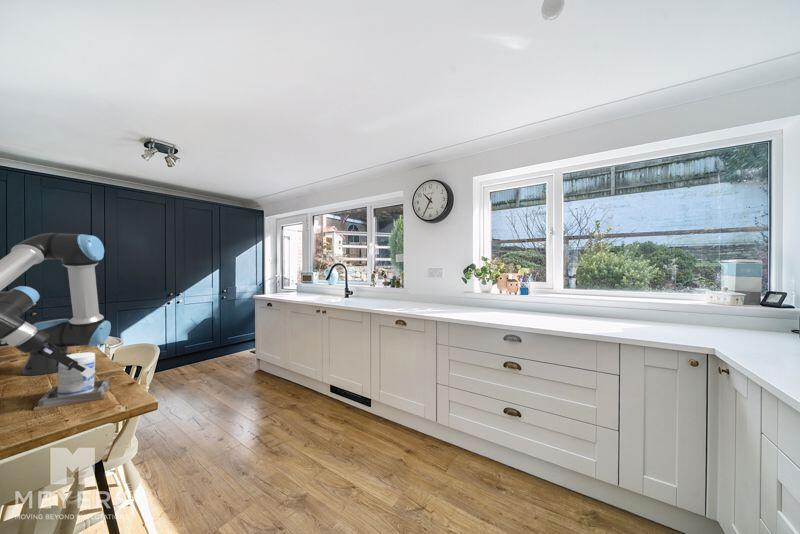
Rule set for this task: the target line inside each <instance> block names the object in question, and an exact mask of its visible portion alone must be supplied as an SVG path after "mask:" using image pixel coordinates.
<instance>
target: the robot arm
mask: <svg viewBox="0 0 800 534" xmlns="http://www.w3.org/2000/svg"><path fill="white" fill-rule="evenodd" d="M104 254H105V247H104V245H103V242H102V240H100V238H98V236H96V235H89V234H83V233H81V234H80V233H59V232H58V233H56V232H48V233H47V232H46V233H42V234H38V235H35V236H34V235H33V236H31V237H29V238H27V239H24V240H23V241H21V242H19V243H17V244H15V245H14V246H13V247H11V249H10V252H9V253H8V254H7V255H5V256H4V257H2V258H1V259H0V344H1V345H4V344H7V345H9V346H10V347H15V349H16V350H18V351H21V352H22V353H24V354H29V355H28V358H27V360H26V361H25V364H24V365H23V368H22V371H21V372H22V373H21V374H22V375H23V376H41V375H47V374H48V375H49V374H54V373H58V367H59V362H60V363H61V364H63V365H65V366H67V367H68V369H67V370H69V371H70V370H71V369H72V370H74V371H76V372H78V373H80V374H82V375H84V376H86V377H87V378H89V377H90V376H92V375H93V374H94V373H96V370H95V371H94V370H92V369H90V368H89V367H87V366H85V365H83V364H81V363H80V362H78V361H75V360H73V359H71V358H70V357H68V356H66V355H69V354H72V353H71V352H68V348H69V347H70V348H71V347H93V346H100V345H102V344H104V343H105V342H106V341H107V339H108V337H109V336H110V333H111V330H112V329H111V328H112V325H111V321H109V320H105V317H104V315H103V314H101V313H100V309H99V299H98V289H97V288H98V286H97V278H96V277H97V276H96V269H95V267H96V266H97V265H99V261H102V259H103V258H104V256H105V255H104ZM45 260H61V265H62V266H63V267H66V268H67V273H68V274H67V275H68V282H69V290H70V300H71V307H72V308H71V309H72V318H70V319H69V318H60V319H59V318H58V319H51V320H46V321H45V320H44V321H39V322H35V323H33V324H31V323H29V322H27V321H26V320H23V319H22V318H20V317H21V316H22V315H23V314H25V313H26V312H27V311H28V310H30V308H32V307H33V306H34V305H35V304H36V303H37V302H38V301H39V300H40V294H39V292H38V291H37V290H36V289H34V288H32V287H30V286H24V285H19V286H17V287H14V288H12V289H9V291H2V290H3V289H5V288H6V287H7V286H9V285H10V284H11V283H12V282H14V281H15V280H16V279H17V278H18V277H20V276H21V275H22V274H24V273H25V272H26V271H27V270H29V269H30V268H31V267H32V266H34V265H38V264H40V263H42V262H43V261H45ZM72 362H73V363H72ZM71 363H72V364H71ZM69 364H70V365H69Z"/></svg>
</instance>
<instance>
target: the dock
mask: <svg viewBox="0 0 800 534" xmlns="http://www.w3.org/2000/svg"><path fill="white" fill-rule="evenodd" d="M111 387H112V382H110V379H109V378H107V379H100V380H99V379H98V380H94V390H93V391H92V392H88V393H82V394H75V395H69V396H62V397H58V396H57V390H58V385H54V386H52V387H51V388H50V389H49V390H47V392H46V393H45V394H44V395H43V396H42V397H41V398H40V399H39V400H38V403H37V405H36V406H35V407H34V408H33V410H32V411H33V412H35V411H40V410H47V409H52V408H58V407H65V406H70V405H71V406H72V405H77V404H83V403H84V404H85V403H89V402H96V401H102V400H104V399H105V397H106V396H107V393H108V391H109V390H110V389H111Z"/></svg>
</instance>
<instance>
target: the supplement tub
mask: <svg viewBox="0 0 800 534" xmlns="http://www.w3.org/2000/svg"><path fill="white" fill-rule="evenodd" d="M68 354H69V353H68ZM66 356H68V357H70V358H71V359H73V360H75V361H78V362H80V363H81V364H83V365H85V366H87V367H89V368H90V369H92V370H94V371H96V370H95V369H96V352H86V351H85V352H78V353H71V354H69V355H66ZM72 363H73V362H72ZM72 363H71V364H72ZM69 365H70V364H69ZM67 369H68V367H67V366H65V365H63V364H61V363H60V362H59V367H58V372H57V374H58V375H57V386H58V390H57V396H58V397H62V396H69V395H75V394H82V393H88V392H92V391H93V390H94V381H95V377H96V375H95V373H96V372H95V373H94V374H93V375H92V376H90V377H89V378H87V377H86V376H84V375H82V374H80V373H78V372H76V371H74V370H72V369H71V370H70V371H69V370H67Z"/></svg>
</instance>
